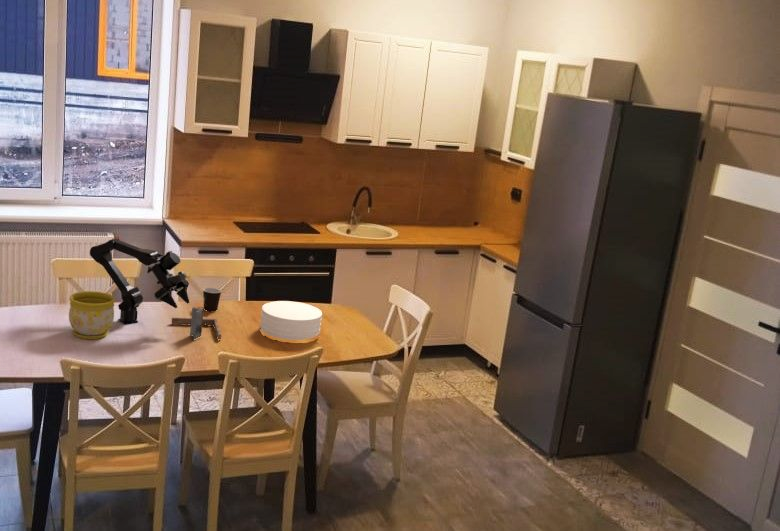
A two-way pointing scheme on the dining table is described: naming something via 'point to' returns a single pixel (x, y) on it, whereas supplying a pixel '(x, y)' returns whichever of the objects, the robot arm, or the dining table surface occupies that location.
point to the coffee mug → (211, 298)
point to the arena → (204, 321)
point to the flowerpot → (91, 314)
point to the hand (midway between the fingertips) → (182, 305)
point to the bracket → (196, 322)
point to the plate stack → (290, 320)
